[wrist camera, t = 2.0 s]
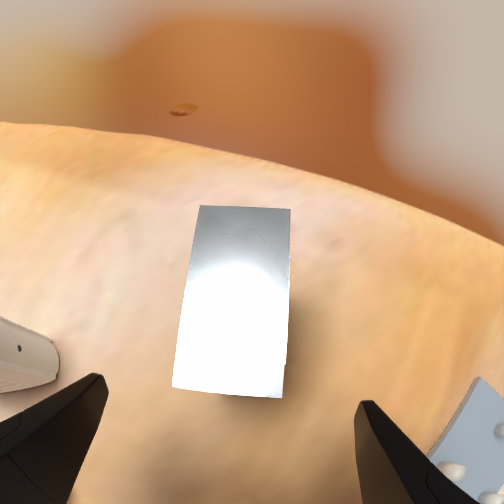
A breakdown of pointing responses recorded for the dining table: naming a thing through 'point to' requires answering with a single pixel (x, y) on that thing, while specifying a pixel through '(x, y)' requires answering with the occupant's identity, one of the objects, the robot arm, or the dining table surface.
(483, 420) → the grey peg board
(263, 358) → the block
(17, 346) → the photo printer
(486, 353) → the dining table surface
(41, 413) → the robot arm
